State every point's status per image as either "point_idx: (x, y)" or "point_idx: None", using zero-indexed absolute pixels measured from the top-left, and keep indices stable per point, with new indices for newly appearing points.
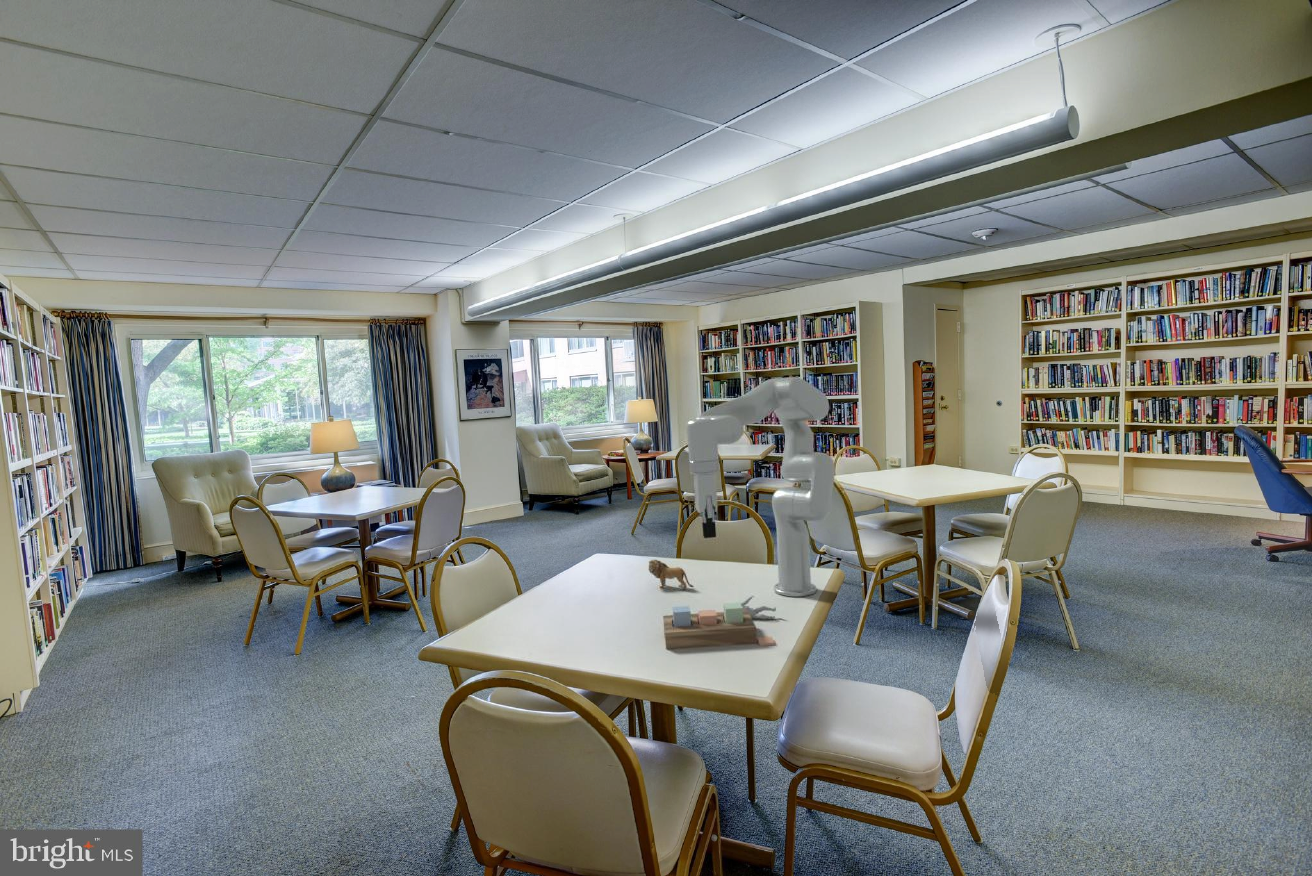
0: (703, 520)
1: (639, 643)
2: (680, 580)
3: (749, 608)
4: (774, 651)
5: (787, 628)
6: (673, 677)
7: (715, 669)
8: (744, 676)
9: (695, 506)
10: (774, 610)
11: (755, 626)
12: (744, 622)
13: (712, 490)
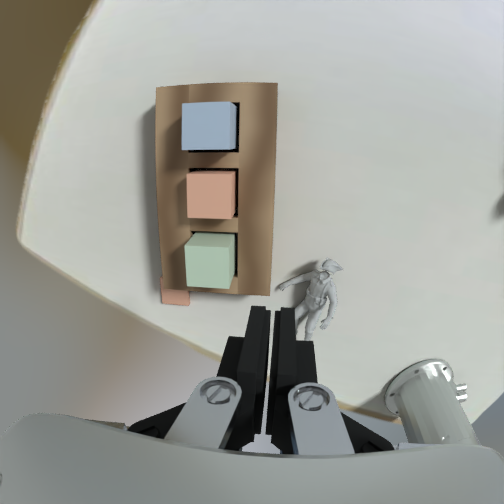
0: (235, 394)
1: (211, 38)
2: None
3: (314, 303)
4: (138, 292)
5: None
6: (62, 116)
7: (78, 184)
8: (59, 226)
9: (452, 450)
10: None
11: (165, 288)
12: None
13: None
